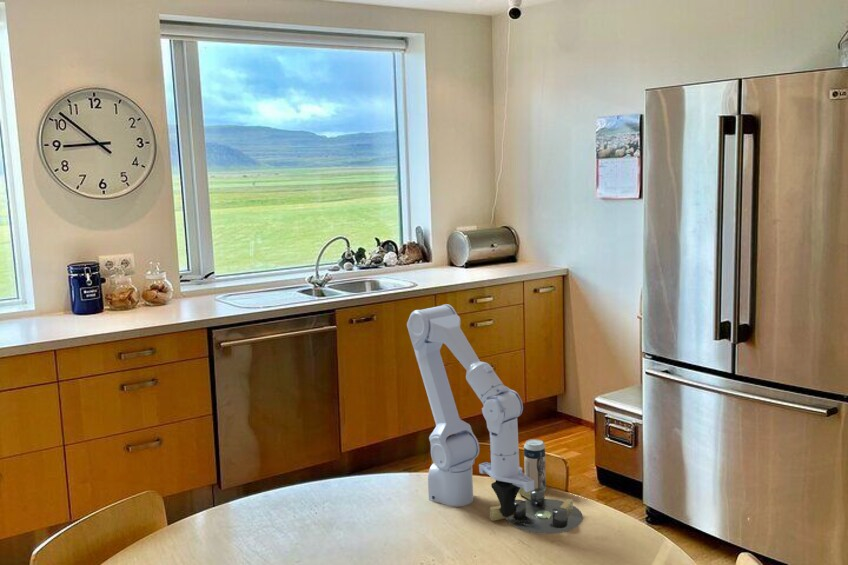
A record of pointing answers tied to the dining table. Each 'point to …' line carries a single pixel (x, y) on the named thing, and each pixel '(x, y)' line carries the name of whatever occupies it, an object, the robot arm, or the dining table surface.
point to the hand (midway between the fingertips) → (507, 515)
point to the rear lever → (534, 496)
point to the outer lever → (562, 513)
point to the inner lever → (518, 514)
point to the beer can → (535, 462)
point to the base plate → (545, 518)
